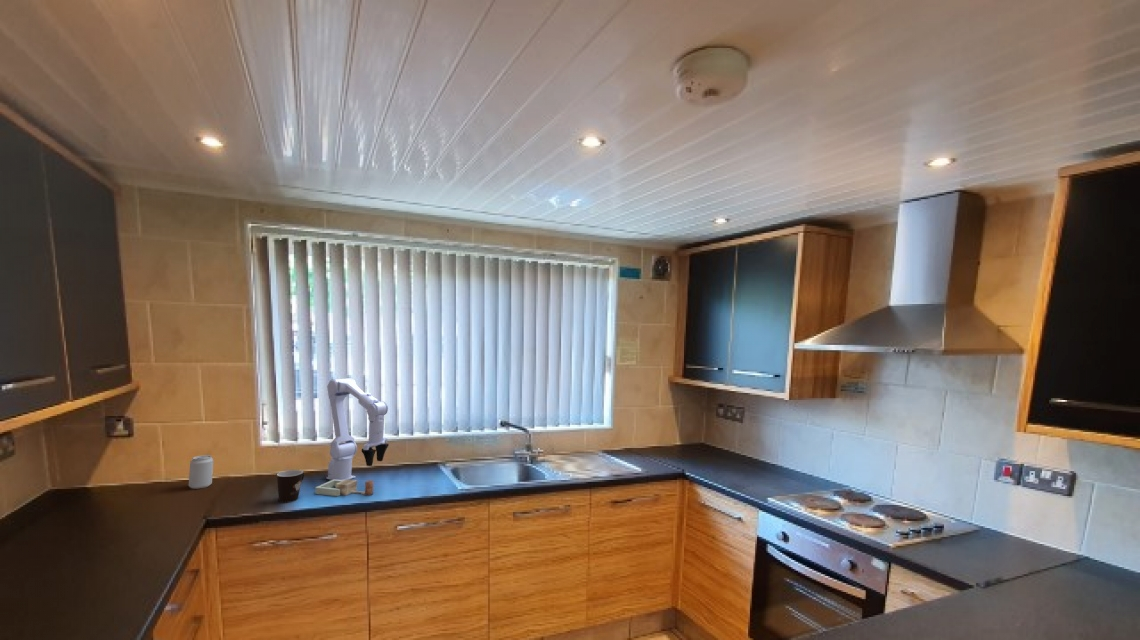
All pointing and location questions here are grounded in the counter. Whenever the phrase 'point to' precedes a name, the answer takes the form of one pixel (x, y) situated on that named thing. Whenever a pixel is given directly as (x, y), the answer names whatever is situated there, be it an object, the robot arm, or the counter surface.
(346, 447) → the robot arm
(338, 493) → the lane
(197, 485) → the can
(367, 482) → the wooden toy mallet
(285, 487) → the coffee mug
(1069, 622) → the counter surface
